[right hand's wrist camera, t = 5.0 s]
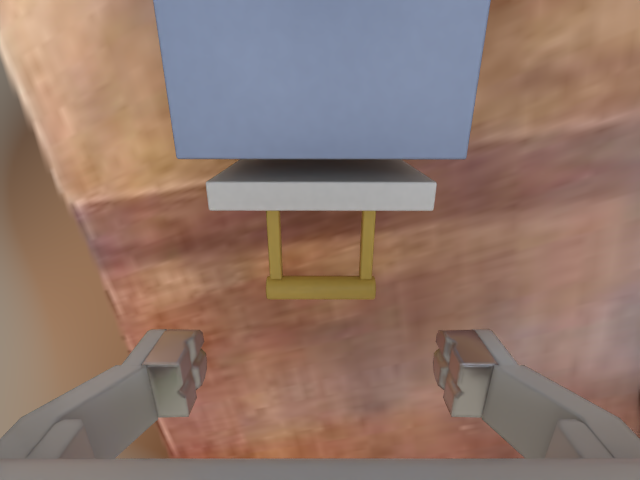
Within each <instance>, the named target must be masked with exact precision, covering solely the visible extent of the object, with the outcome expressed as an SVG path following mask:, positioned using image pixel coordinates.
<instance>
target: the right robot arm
mask: <svg viewBox="0 0 640 480" xmlns="http://www.w3.org/2000/svg"><path fill="white" fill-rule="evenodd" d="M203 343H204V338H203V333H202V331H200V330H180V329H168V330H167V329H151V330H149V331H147V333H146V334H145V335H144V337H143V338H142V339H141V340H140V342H139V343H138V344H137V346H136V347H135V348H134V349H133V351H132V352H131V353H130V355H129V356H128V357H127V358H126V360H125V361H124V362H123V364H122V365H116V366H114V367H112V368H110V369H108V370H107V371H105V372H103V373H101V374H99V375H97V376H96V377H94V378H92V379H90V380H88V381H87V382H85V383H83V384H81V385H79V386H77V387H76V388H74V389H72V390H70V391H68V392H67V393H65V394H63V395H61V396H59V397H57V398H56V399H54V400H52V401H50V402H48V403H47V404H45V405H43V406H41V407H39V408H37V409H36V410H34V411H32V412H30V413H28V414H27V415H25V416H23V417H21V418H20V419H19V420H18V421H17V422H16V423H15V424H14V425H13V426H12V427H11V428H10V429H9V430H8V431H7V432H6V433H5V435H4V436H3V437H2V438H1V439H0V480H640V439H639V438H638V437H637V435H636V434H635V433H634V432H633V431H632V430H631V429H630V428H629V427H628V426H627V425H626V424H625V423H624V422H623V421H622V420H621V419H620V418H619V417H617V416H615V415H613V414H611V413H609V412H608V411H606V410H604V409H602V408H600V407H599V406H597V405H595V404H593V403H591V402H590V401H588V400H586V399H584V398H582V397H581V396H579V395H577V394H575V393H573V392H571V391H570V390H568V389H566V388H564V387H562V386H561V385H559V384H557V383H555V382H553V381H552V380H550V379H548V378H546V377H544V376H542V375H541V374H539V373H537V372H535V371H533V370H532V369H530V368H528V367H526V366H524V365H518V364H517V362H516V361H515V360H514V358H513V357H512V356H511V355H510V353H509V352H508V351H507V350H506V348H505V347H504V346H503V344H502V343H501V342H500V341H499V339H498V338H497V337H496V335H495V334H494V333H493V332H492V331H491V330H489V329H472V330H439V331H438V333H437V337H436V343H437V345H438V347H439V349H438V350H437V351H436V352H435V353H434V358H433V370H434V375H435V379H436V382H437V384H438V386H439V387H441V388H442V389H443V390H444V396H443V398H444V401H445V403H446V405H447V407H448V410H449V412H450V414H451V417H482V420H484V421H485V422H486V423H487V424H488V425H489V426H490V427H491V428H492V429H494V430H495V431H496V432H497V433H498V434H499V435H500V436H501V437H502V438H503V439H505V440H506V441H507V442H508V443H509V444H510V445H511V446H512V447H513V448H514V449H516V450H517V451H518V452H519V453H520V454H521V455H522V456H523V457H524V458H525V459H375V458H349V459H115V458H116V457H117V456H118V455H119V454H120V453H121V452H122V451H123V450H124V449H126V448H127V447H128V446H129V445H130V444H131V443H132V442H133V441H134V440H135V439H137V438H138V437H139V436H140V435H141V434H142V433H143V432H144V431H146V430H147V429H148V428H149V427H150V426H151V425H152V424H153V423H154V422H155V421H157V420H158V417H189V414H190V412H191V410H192V407H193V405H194V403H195V400H196V398H197V396H196V390H197V389H198V388H199V387H201V386H202V384H203V381H204V379H205V375H206V370H207V357H206V353H205V352H204V351H203V350H202V349H201V347H202V345H203Z"/></svg>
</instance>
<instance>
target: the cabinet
mask: <svg viewBox="0 0 640 480" xmlns="http://www.w3.org/2000/svg"><path fill="white" fill-rule="evenodd" d="M490 1H491V0H153V2H154V9H155V16H156V22H157V29H158V36H159V42H160V49H161V56H162V63H163V69H164V76H165V83H166V89H167V96H168V103H169V110H170V116H171V123H172V130H173V136H174V143H175V150H176V156H177V158H178V159H466V156H467V149H468V143H469V136H470V130H471V124H472V117H473V111H474V104H475V98H476V91H477V85H478V78H479V72H480V65H481V59H482V52H483V46H484V40H485V33H486V27H487V20H488V14H489V7H490Z"/></svg>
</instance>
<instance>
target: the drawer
mask: <svg viewBox="0 0 640 480" xmlns="http://www.w3.org/2000/svg"><path fill="white" fill-rule="evenodd" d="M436 185H437V183H436V182H435V181H434V180H432V179H430V178H429V177H427V176H426V175H424V174H423V173H421V172H420V171H418V170H417V169H415V168H414V167H412V166H410V165H409V164H407V163H406V162H404V161H403V160H401V159H240V160H239V161H237V162H236V163H234V164H233V165H231V166H230V167H228V168H227V169H225V170H224V171H222V172H221V173H219V174H218V175H216V176H215V177H213V178H212V179H210V180H208V181H207V182H206V189H207V197H208V206H209V210H211V211H266V218H267V235H268V252H269V269H270V276H268V277H267V280H266V296H267V299H374V298H375V294H376V283H375V278H374V276H372V264H373V248H374V233H375V217H376V211H432V210H433V209H434V201H435V193H436ZM280 211H362V221H361V242H360V263H359V276H282V275H283V269H282V246H281V223H280Z"/></svg>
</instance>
